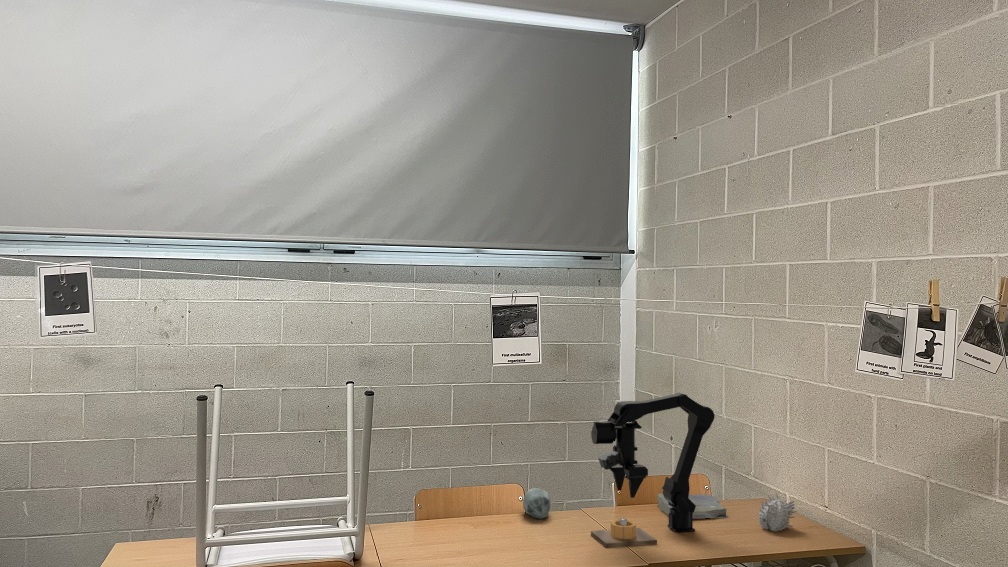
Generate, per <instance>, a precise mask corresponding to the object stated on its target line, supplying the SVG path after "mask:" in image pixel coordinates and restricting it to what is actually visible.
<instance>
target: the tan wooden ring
mask: <svg viewBox="0 0 1008 567" xmlns="http://www.w3.org/2000/svg"><path fill="white" fill-rule="evenodd" d="M636 528H637V524H636V523H635V522H634V521H631V520H627V526H620V522H618V519H617V520H616V519H615V520H613V521H611V522H610V530H611V535H612V536H613V537H615V538H619V539H633V538H634V537H636Z"/></svg>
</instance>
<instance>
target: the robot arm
mask: <svg viewBox="0 0 1008 567" xmlns="http://www.w3.org/2000/svg"><path fill="white" fill-rule="evenodd" d="M677 408H680V409H681V410H682V411H683V412H685V413H686V414H687V415H688V416H687V433H686V437H685V439H684V443H683V446H682V449H681V450H680V451H681V452H680V455H679V458H678V460H677V464H676V467H675V471H674V472H673V474H672V476H671V477H669V476H665V478H664V484H663V486H662V487H661V489H662V493H663V496H664V498H665V499H666V500H667V501H668V503H669V506H671V507H673V508H670V513H669V516H668V524H667V527H668V528H669V529H671V530H672V531H674V532H675V533H676V532H677V533H682V532H685V533H686V532H696V529H695V528H694V527H693V526H694V525H693V522H694V520H693V512H694V510H695V508H696V505H695V504H694V503H693V502H692V501H691V500H690V499H689V495H690V489H691V487H690V477H691V474H692V471H693V468H694V464H695V461H696V458H697V455H698V452H699V448H700V445H701V443H702V439H703V437H704V435H705V434H706V433H707V432H708V431H709V430H710V429H711V426H712V425H713V422H714V420H715V415H716V414H715V413H714V410H713V409H712V408H711V407H708V406H705V405H702V404H700V403H698V402H697V401H695V400H693V399H692V398H690V397H689V396H688V395H687V394H685V393H682V392H676V393H674V394H670V395H665V396H660V397H656V398H655V397H654V398H651V399H646V400H642V401H640V400H639V401H638V400H637V401H636V400H622V401H621V400H620V401H618V402H617V403H616V404H615V406H614V408H613V412H612V413H611V415H610V416H609V417H608V419H607V421H593V425H592V427H591V432H590V433H591V435H590V437H591V441H592V443H593V445H608V444H609V445H610V444H613V443H614V442H615V444H614V445H613V446H612V451H609V452H606V453H604V454H601V455H600V456H598V457H597V458H598V462H599V465H600V468H603V469H604V470H609V471H610V472H611V473H612V475H613V478H614V479H613V480H614V483H615V485H616V490H617V491H622V488H623V484H624V482H625V479H626V480H628V488H629V496H630V498H631V499H634V498H635V497H636V494H637V493H638V491H639V489H640V487H641V485H642V483H643V482H644V480H645V479H646V478H647V477H648V476H649V469H648V467H646V466H645V465H643V464H639V463H638V462H639V461H638V460H636V451H638V446H636V433H635V432H636V430H637V429H638V430H640V429H642V427H643V426H642V425H640V424H639V422H638V421H637V420H640V419H641V418H643V417H645V416H646V415H649V414H654V413H658V412H662V411H667V410H672V409H677Z"/></svg>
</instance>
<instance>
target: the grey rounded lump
mask: <svg viewBox="0 0 1008 567" xmlns="http://www.w3.org/2000/svg"><path fill="white" fill-rule="evenodd" d="M522 500H523V501H522V507H523V510H524V511H525V513H527V515H529V516H531V517H532V518H535V519H538V520H542V519H546V517H547V516H548V515H549V512H550V511H551V496H550V494H549V493H548V492H547V491H545V490H544V489H542V488H538V487H533V488H530V489H529V490H527V491H526V492H525V494H524V496H523V499H522Z"/></svg>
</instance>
